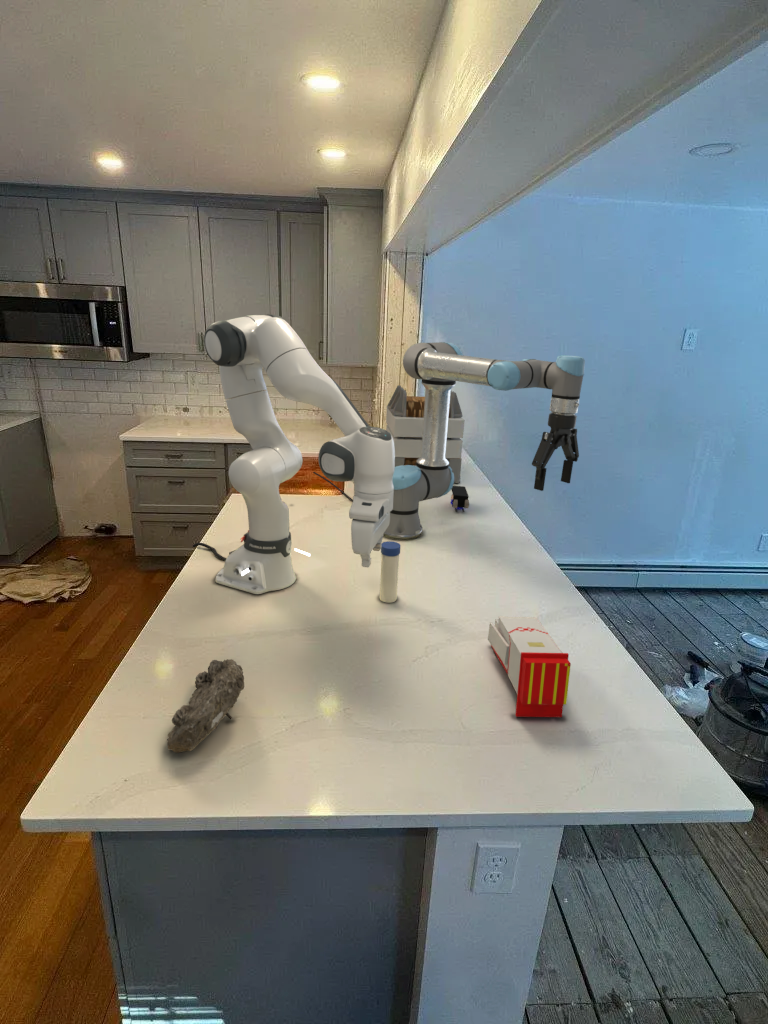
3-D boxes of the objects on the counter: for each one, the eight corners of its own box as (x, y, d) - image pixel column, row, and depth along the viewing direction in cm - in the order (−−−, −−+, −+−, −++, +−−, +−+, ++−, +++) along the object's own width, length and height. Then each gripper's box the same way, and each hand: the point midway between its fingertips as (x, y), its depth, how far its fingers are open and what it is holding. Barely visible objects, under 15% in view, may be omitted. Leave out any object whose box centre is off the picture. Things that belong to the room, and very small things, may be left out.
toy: (534, 602, 136) (579, 659, 107) (529, 653, 139) (572, 723, 110) (484, 601, 136) (516, 658, 107) (480, 652, 139) (510, 722, 109)
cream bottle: (390, 592, 158) (393, 541, 153) (400, 600, 155) (403, 548, 149) (376, 596, 156) (378, 545, 151) (385, 604, 152) (388, 551, 147)
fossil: (192, 660, 117) (244, 628, 112) (224, 691, 120) (276, 661, 115) (142, 746, 98) (202, 712, 93) (182, 779, 101) (242, 748, 96)
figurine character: (469, 517, 223) (463, 501, 236) (471, 500, 219) (465, 484, 233) (452, 516, 222) (447, 500, 236) (454, 499, 219) (449, 483, 232)
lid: (392, 547, 154) (393, 539, 153) (403, 553, 150) (404, 546, 149) (377, 550, 151) (377, 543, 150) (387, 557, 147) (388, 550, 146)
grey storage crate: (382, 463, 289) (386, 382, 275) (445, 464, 293) (451, 384, 279) (390, 482, 257) (394, 392, 243) (460, 483, 261) (468, 394, 247)
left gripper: (371, 486, 137) (370, 539, 141) (346, 513, 118) (345, 574, 122) (397, 489, 135) (395, 542, 140) (375, 517, 116) (373, 577, 121)
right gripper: (548, 419, 148) (537, 496, 155) (598, 411, 163) (586, 482, 171) (525, 414, 153) (515, 489, 160) (575, 407, 169) (564, 476, 176)
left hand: (371, 557), depth 131 cm, fingers open, 8 cm apart
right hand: (552, 485), depth 166 cm, fingers open, 13 cm apart
